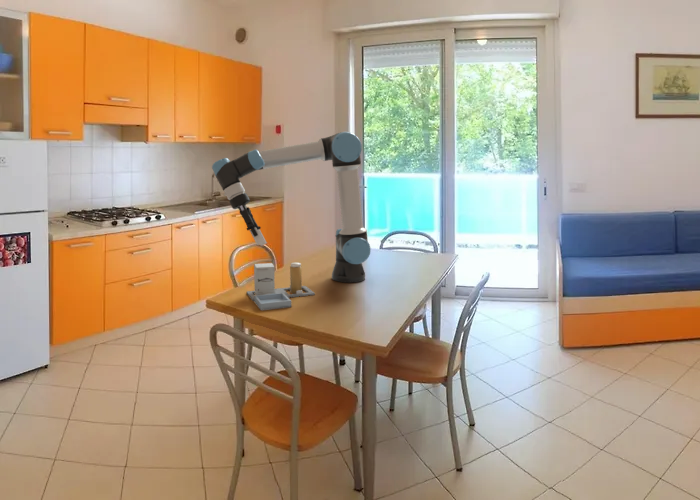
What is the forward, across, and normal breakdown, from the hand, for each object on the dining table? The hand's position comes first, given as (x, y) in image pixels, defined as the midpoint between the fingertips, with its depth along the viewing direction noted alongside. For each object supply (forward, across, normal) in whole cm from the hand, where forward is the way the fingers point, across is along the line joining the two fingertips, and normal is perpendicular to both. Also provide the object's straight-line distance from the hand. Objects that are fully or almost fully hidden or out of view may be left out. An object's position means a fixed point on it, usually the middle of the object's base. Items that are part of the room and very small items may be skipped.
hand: (262, 244), depth 204 cm
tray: (+22, +10, -6) cm, 25 cm away
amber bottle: (+23, -6, +2) cm, 24 cm away
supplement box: (+19, -2, -9) cm, 21 cm away
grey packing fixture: (+21, -4, -3) cm, 22 cm away
